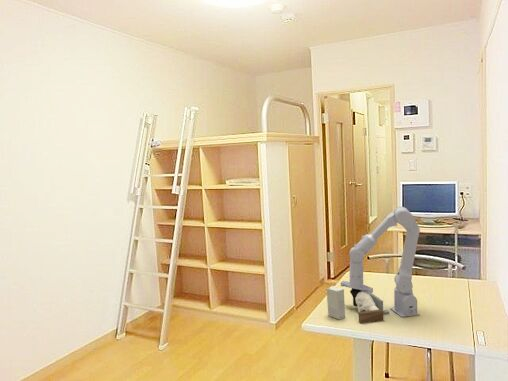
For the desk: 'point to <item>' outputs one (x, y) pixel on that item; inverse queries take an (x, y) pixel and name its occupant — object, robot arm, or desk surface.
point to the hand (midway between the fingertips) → (356, 305)
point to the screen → (378, 303)
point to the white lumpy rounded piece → (365, 302)
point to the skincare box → (335, 302)
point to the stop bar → (371, 316)
